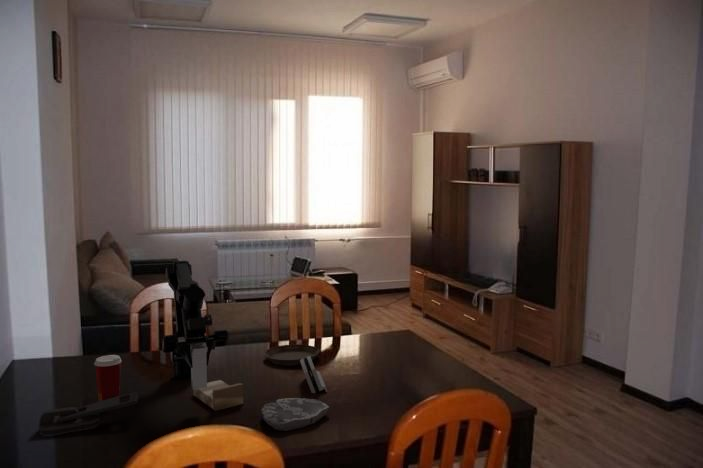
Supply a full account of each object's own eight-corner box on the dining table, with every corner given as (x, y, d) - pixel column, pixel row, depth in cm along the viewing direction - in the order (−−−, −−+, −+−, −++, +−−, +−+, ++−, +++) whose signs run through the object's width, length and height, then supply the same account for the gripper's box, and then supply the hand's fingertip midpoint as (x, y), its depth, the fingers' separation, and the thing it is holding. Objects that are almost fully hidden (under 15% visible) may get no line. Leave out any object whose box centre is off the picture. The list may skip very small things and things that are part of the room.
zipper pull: (138, 400, 159) (36, 414, 150) (139, 423, 160) (37, 438, 151) (137, 389, 167) (40, 402, 158) (138, 412, 168) (41, 425, 159)
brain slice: (297, 402, 176) (297, 392, 176) (337, 417, 164) (337, 407, 164) (244, 421, 162) (244, 410, 162) (283, 439, 150) (283, 428, 150)
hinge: (327, 392, 183) (317, 364, 182) (313, 398, 183) (302, 370, 181) (321, 375, 200) (311, 349, 198) (308, 381, 199) (298, 354, 198)
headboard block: (193, 395, 181) (193, 376, 181) (220, 388, 187) (220, 370, 186) (215, 410, 169) (214, 390, 168) (243, 403, 174) (242, 384, 174)
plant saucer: (253, 360, 218) (253, 352, 217) (292, 348, 233) (292, 340, 233) (291, 372, 204) (291, 363, 204) (330, 358, 220) (330, 350, 220)
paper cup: (128, 400, 177) (127, 355, 176) (110, 409, 170) (109, 363, 168) (108, 397, 179) (106, 353, 178) (89, 406, 172) (87, 360, 171)
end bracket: (191, 386, 170) (190, 344, 168) (205, 384, 171) (204, 343, 170) (194, 391, 165) (193, 349, 164) (208, 389, 167) (207, 347, 165)
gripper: (162, 308, 167) (167, 356, 158) (227, 303, 174) (235, 348, 165) (160, 328, 175) (165, 375, 166) (222, 322, 182) (230, 367, 173)
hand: (199, 366), depth 167 cm, fingers closed on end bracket, 4 cm apart
